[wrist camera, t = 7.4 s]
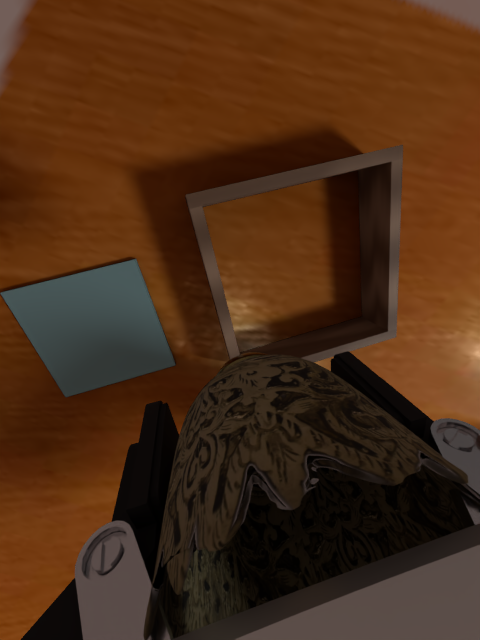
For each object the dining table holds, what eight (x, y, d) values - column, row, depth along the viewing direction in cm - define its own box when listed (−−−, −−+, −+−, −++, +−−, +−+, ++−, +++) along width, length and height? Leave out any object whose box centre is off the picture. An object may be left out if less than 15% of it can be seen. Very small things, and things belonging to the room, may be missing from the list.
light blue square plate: (175, 363, 29) (175, 365, 29) (67, 395, 28) (65, 397, 28) (136, 258, 24) (135, 259, 24) (3, 291, 23) (0, 292, 23)
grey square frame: (369, 321, 32) (396, 337, 28) (230, 362, 31) (237, 385, 26) (367, 156, 25) (403, 144, 21) (185, 198, 23) (185, 194, 19)
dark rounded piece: (130, 388, 11) (35, 705, 4) (254, 269, 10) (421, 401, 3) (242, 459, 14) (304, 713, 7) (346, 372, 13) (538, 560, 6)
